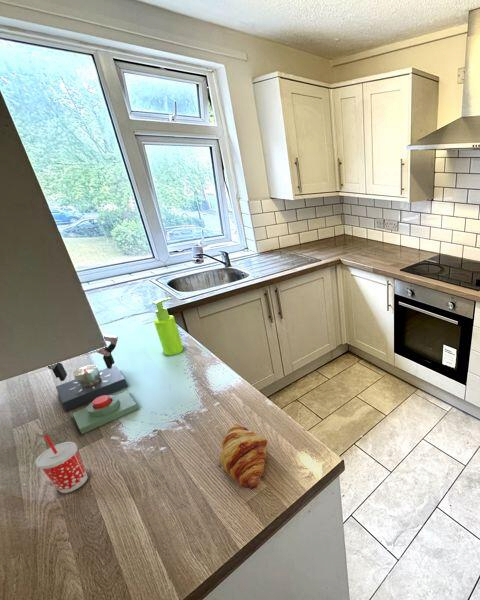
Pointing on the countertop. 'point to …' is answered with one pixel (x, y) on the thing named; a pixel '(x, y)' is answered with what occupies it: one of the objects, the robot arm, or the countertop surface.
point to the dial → (87, 376)
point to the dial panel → (91, 388)
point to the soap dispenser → (167, 329)
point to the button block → (104, 412)
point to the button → (101, 401)
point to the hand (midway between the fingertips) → (87, 372)
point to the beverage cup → (62, 466)
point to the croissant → (243, 456)
